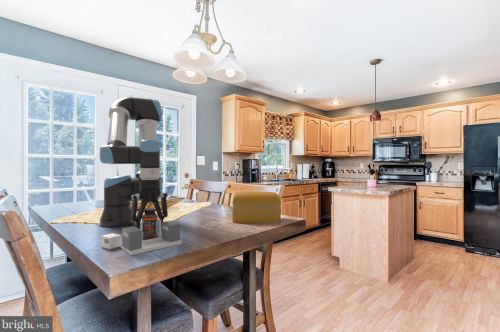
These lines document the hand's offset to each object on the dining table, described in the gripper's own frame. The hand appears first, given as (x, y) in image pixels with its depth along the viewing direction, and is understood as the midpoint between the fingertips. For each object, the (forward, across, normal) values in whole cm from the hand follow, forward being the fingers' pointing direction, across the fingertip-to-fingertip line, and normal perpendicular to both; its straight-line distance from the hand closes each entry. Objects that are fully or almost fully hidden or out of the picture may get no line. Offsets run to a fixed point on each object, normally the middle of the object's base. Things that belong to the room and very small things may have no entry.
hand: (149, 236), depth 104 cm
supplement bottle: (0, 0, 0) cm, 1 cm away
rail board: (0, -4, -11) cm, 11 cm away
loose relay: (0, -15, -2) cm, 15 cm away
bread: (+1, +54, -5) cm, 54 cm away
